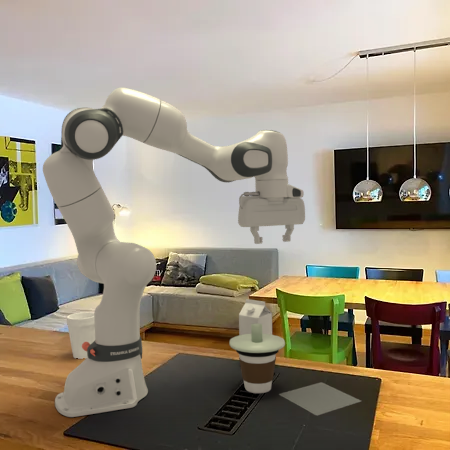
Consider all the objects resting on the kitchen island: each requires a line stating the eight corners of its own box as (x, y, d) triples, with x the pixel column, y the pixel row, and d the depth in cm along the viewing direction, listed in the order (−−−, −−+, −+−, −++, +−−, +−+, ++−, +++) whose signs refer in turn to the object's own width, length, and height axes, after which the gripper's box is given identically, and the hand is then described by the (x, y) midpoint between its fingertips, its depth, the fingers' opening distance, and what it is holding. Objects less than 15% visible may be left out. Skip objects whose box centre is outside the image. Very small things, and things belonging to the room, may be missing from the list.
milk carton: (253, 357, 145) (252, 297, 145) (272, 362, 141) (271, 299, 140) (239, 364, 140) (238, 301, 139) (259, 369, 135) (258, 304, 135)
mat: (316, 418, 104) (316, 415, 104) (278, 396, 116) (278, 394, 116) (361, 403, 111) (361, 401, 111) (321, 384, 123) (321, 382, 123)
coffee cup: (230, 396, 117) (229, 348, 116) (244, 380, 127) (243, 336, 127) (273, 401, 113) (272, 352, 113) (283, 384, 123) (283, 339, 123)
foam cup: (104, 353, 152) (103, 314, 152) (82, 362, 145) (80, 320, 144) (84, 349, 158) (83, 311, 157) (62, 357, 150) (60, 317, 149)
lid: (248, 356, 110) (248, 335, 110) (219, 341, 122) (219, 322, 122) (296, 346, 117) (295, 326, 117) (264, 333, 129) (263, 315, 129)
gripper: (245, 191, 119) (247, 245, 119) (308, 190, 129) (309, 241, 130) (232, 192, 124) (234, 244, 125) (293, 191, 135) (294, 239, 135)
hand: (272, 242), depth 127 cm, fingers open, 8 cm apart
